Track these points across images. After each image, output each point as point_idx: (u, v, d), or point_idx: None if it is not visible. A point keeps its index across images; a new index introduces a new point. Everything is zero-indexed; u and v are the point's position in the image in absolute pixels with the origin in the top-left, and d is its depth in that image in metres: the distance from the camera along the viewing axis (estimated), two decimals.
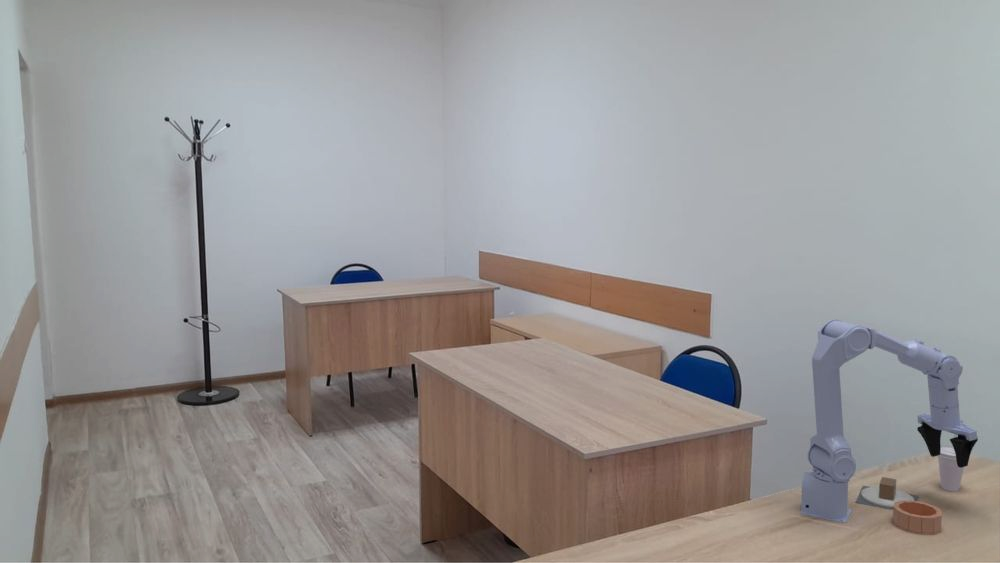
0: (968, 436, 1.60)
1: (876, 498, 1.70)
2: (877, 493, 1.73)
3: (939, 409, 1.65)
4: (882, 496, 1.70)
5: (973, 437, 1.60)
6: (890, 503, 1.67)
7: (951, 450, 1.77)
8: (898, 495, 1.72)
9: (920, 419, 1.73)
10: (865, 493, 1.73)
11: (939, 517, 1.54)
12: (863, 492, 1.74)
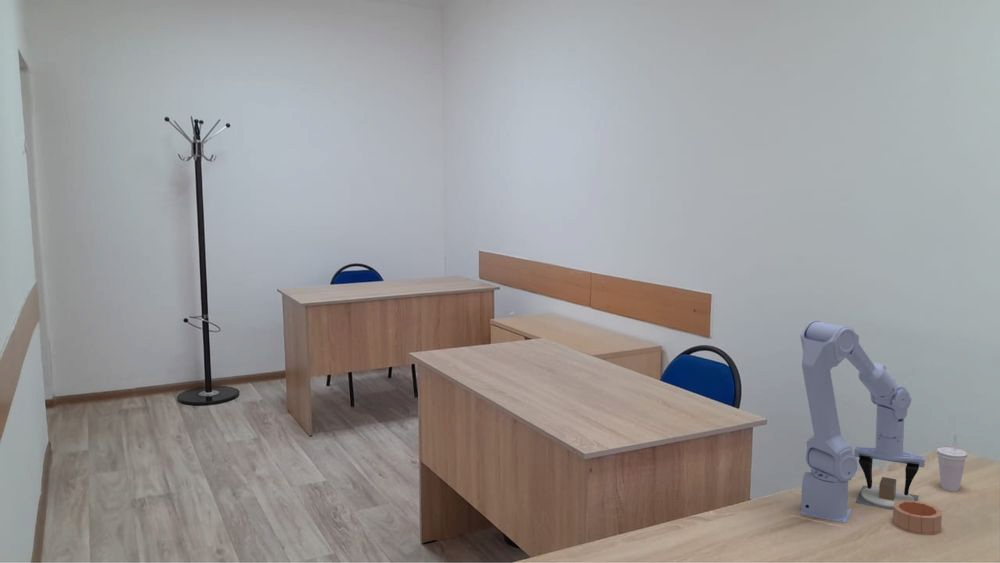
0: (922, 463, 1.66)
1: (876, 498, 1.70)
2: (877, 493, 1.73)
3: (894, 439, 1.67)
4: (882, 496, 1.70)
5: (924, 463, 1.67)
6: (890, 503, 1.67)
7: (951, 450, 1.77)
8: (898, 495, 1.72)
9: (858, 452, 1.73)
10: (865, 493, 1.73)
11: (939, 517, 1.54)
12: (863, 492, 1.74)
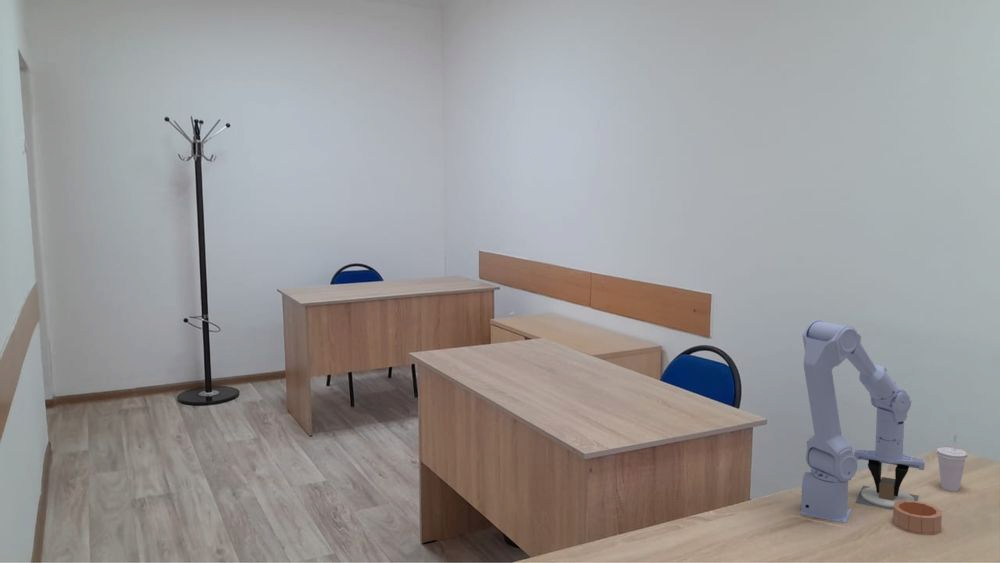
0: (922, 466, 1.66)
1: (876, 498, 1.70)
2: (877, 493, 1.73)
3: (894, 442, 1.67)
4: (882, 496, 1.70)
5: (924, 466, 1.67)
6: (890, 503, 1.67)
7: (951, 450, 1.77)
8: (898, 495, 1.72)
9: (858, 455, 1.73)
10: (865, 493, 1.73)
11: (939, 517, 1.54)
12: (863, 492, 1.74)
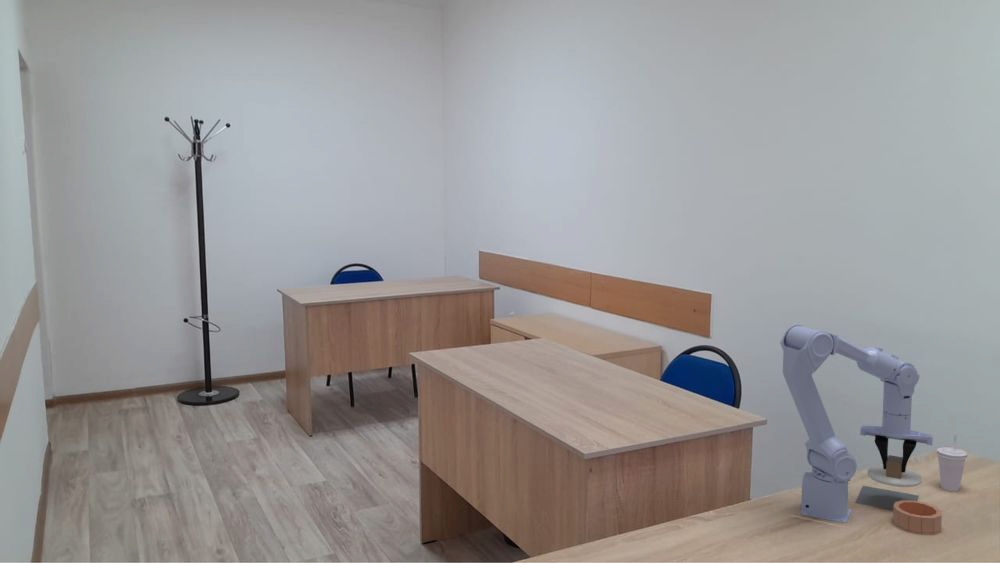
0: (930, 441, 1.62)
1: (883, 477, 1.67)
2: (884, 471, 1.69)
3: (901, 417, 1.64)
4: (889, 474, 1.66)
5: (932, 441, 1.63)
6: (898, 481, 1.64)
7: (951, 450, 1.77)
8: (905, 473, 1.68)
9: (865, 430, 1.69)
10: (872, 471, 1.70)
11: (939, 517, 1.54)
12: (869, 471, 1.70)
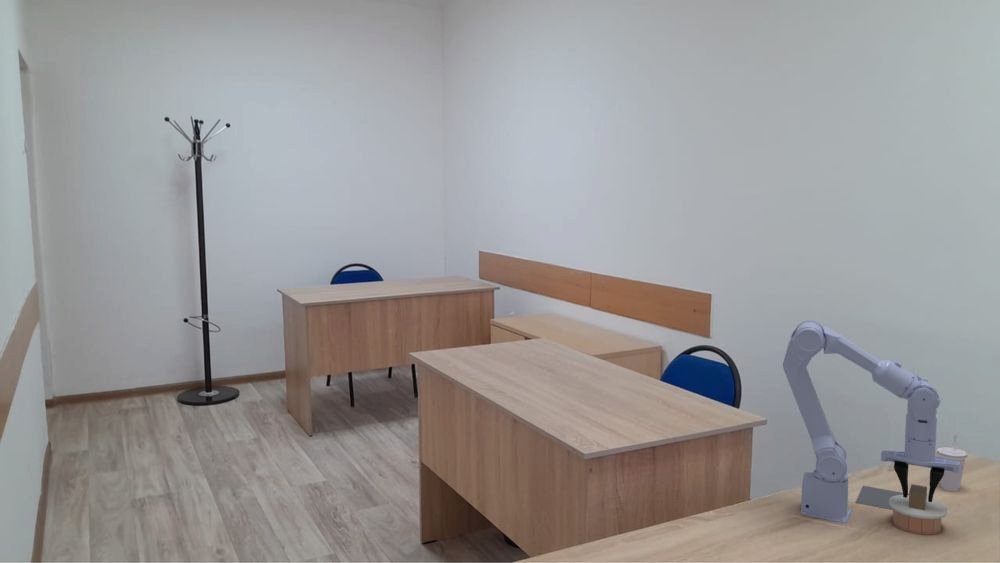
0: (957, 468, 1.52)
1: (906, 507, 1.56)
2: (906, 502, 1.59)
3: (925, 442, 1.53)
4: (912, 505, 1.56)
5: None
6: (921, 513, 1.53)
7: (951, 450, 1.77)
8: (929, 504, 1.58)
9: (886, 456, 1.59)
10: (893, 501, 1.60)
11: None
12: (891, 501, 1.60)
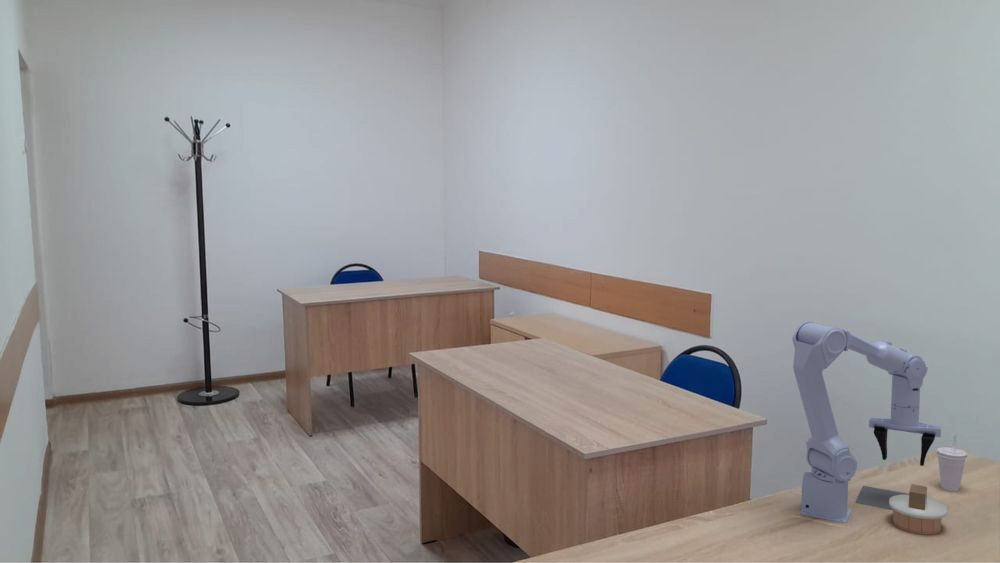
0: (938, 433, 1.64)
1: (906, 507, 1.56)
2: (906, 502, 1.59)
3: (910, 409, 1.65)
4: (912, 505, 1.56)
5: (940, 433, 1.65)
6: (921, 513, 1.53)
7: (951, 450, 1.77)
8: (929, 504, 1.58)
9: (873, 423, 1.71)
10: (893, 501, 1.60)
11: None
12: (891, 501, 1.60)
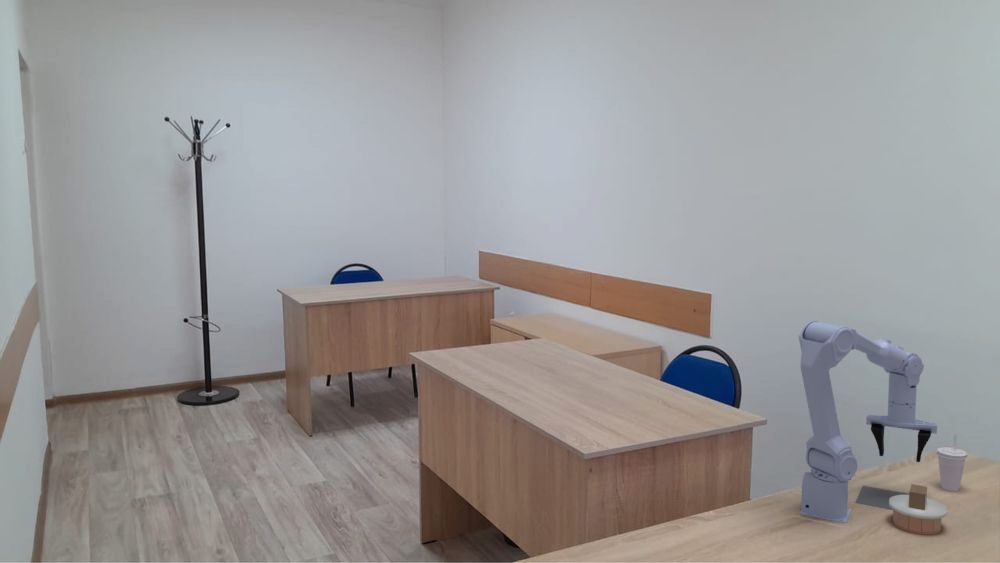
0: (935, 429, 1.67)
1: (906, 507, 1.56)
2: (906, 502, 1.59)
3: (906, 406, 1.68)
4: (912, 505, 1.56)
5: (936, 430, 1.67)
6: (921, 513, 1.53)
7: (951, 450, 1.77)
8: (929, 504, 1.58)
9: (870, 420, 1.74)
10: (893, 501, 1.60)
11: None
12: (891, 501, 1.60)
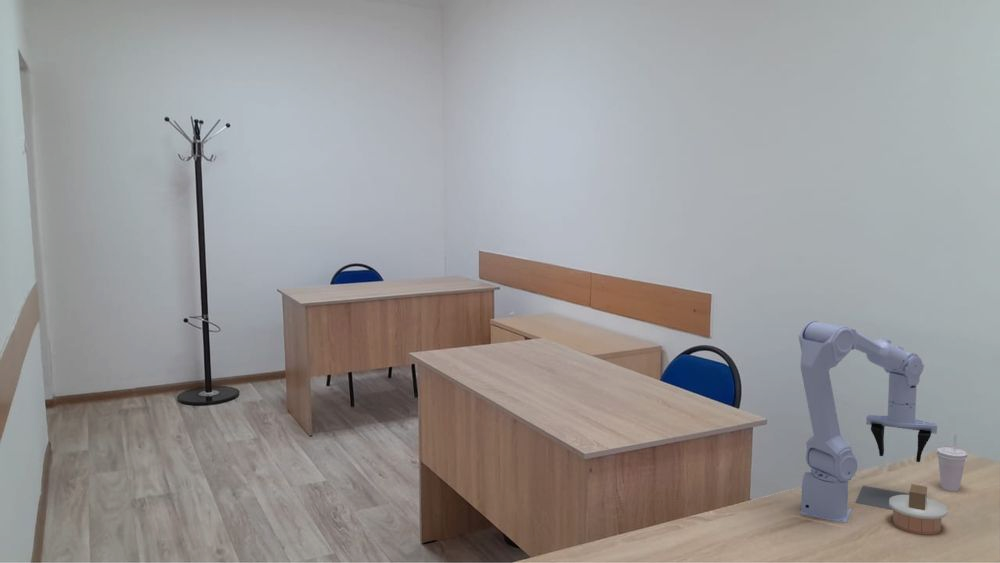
0: (935, 429, 1.67)
1: (906, 507, 1.56)
2: (906, 502, 1.59)
3: (906, 406, 1.68)
4: (912, 505, 1.56)
5: (936, 430, 1.67)
6: (921, 513, 1.53)
7: (951, 450, 1.77)
8: (929, 504, 1.58)
9: (870, 420, 1.74)
10: (893, 501, 1.60)
11: None
12: (891, 501, 1.60)
